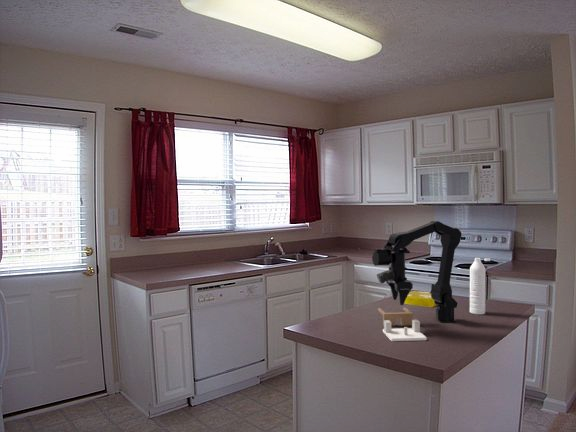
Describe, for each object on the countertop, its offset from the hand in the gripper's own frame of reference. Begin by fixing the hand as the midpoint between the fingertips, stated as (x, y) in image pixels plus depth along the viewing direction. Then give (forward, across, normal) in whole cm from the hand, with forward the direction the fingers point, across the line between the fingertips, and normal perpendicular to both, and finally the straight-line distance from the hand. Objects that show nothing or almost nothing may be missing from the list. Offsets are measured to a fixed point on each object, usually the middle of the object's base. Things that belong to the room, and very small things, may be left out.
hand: (398, 302), depth 178 cm
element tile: (+10, -38, +24) cm, 46 cm away
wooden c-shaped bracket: (+9, -4, 0) cm, 10 cm away
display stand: (+9, +14, -2) cm, 17 cm away
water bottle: (+10, -15, +42) cm, 46 cm away
